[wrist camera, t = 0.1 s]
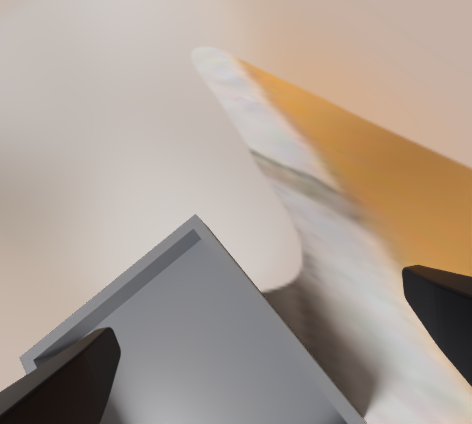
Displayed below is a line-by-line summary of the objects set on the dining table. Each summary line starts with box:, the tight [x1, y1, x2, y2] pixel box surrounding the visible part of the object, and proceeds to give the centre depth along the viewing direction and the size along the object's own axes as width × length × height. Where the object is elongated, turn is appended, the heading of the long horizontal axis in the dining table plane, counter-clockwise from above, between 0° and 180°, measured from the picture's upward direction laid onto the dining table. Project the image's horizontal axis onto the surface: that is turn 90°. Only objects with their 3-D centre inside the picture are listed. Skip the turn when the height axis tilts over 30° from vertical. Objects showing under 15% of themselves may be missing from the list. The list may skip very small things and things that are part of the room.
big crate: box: [20, 214, 367, 424], centre depth 20 cm, size 18×16×4 cm
